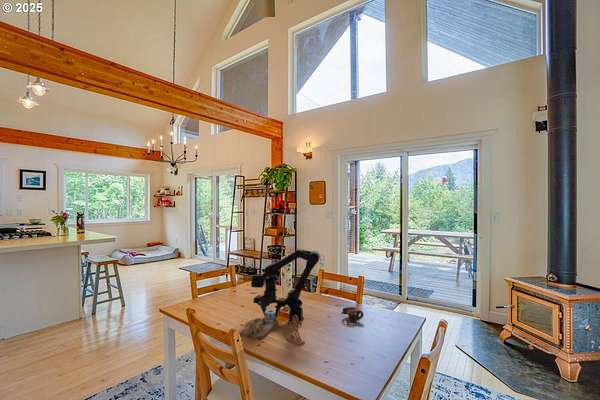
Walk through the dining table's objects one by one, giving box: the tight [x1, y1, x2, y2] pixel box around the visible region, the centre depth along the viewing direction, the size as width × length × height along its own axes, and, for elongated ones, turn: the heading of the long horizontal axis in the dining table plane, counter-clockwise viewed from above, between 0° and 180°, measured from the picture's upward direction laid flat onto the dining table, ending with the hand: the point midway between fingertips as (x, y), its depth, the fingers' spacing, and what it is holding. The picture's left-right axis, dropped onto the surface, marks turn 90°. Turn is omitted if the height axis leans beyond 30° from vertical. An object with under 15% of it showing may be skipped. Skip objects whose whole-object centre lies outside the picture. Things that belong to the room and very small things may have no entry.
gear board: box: [239, 317, 279, 341], centre depth 143 cm, size 12×18×6 cm, turn 160°
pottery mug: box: [341, 306, 365, 324], centre depth 154 cm, size 12×10×8 cm
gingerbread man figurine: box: [285, 315, 306, 347], centre depth 131 cm, size 9×4×12 cm, turn 45°
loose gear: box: [264, 308, 278, 321], centre depth 156 cm, size 7×7×4 cm
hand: (270, 316), depth 156 cm, fingers closed on loose gear, 7 cm apart
